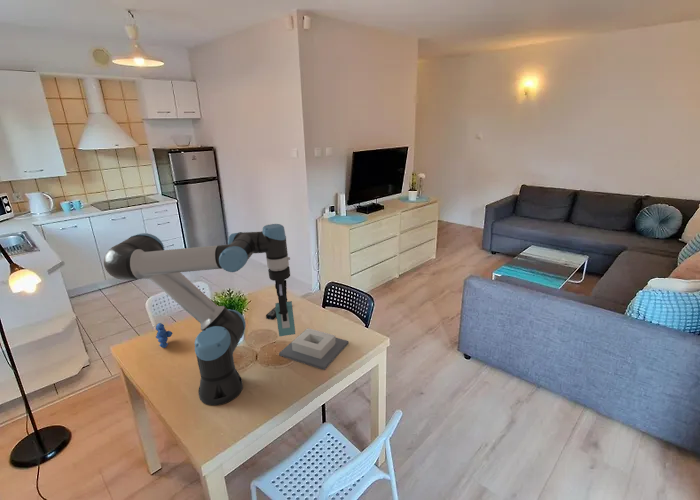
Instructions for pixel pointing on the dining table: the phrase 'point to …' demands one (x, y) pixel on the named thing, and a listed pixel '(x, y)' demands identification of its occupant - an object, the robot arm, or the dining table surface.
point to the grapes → (162, 335)
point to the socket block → (314, 348)
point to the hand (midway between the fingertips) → (286, 324)
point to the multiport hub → (271, 314)
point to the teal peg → (291, 320)
